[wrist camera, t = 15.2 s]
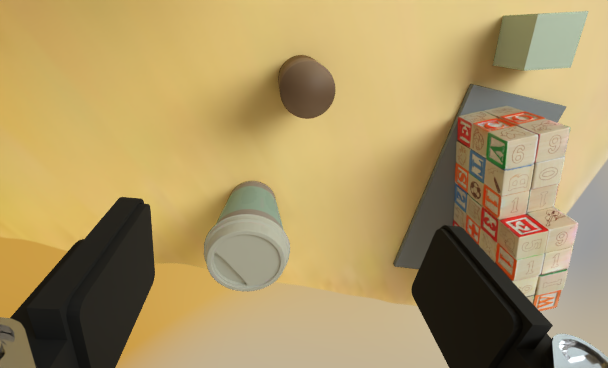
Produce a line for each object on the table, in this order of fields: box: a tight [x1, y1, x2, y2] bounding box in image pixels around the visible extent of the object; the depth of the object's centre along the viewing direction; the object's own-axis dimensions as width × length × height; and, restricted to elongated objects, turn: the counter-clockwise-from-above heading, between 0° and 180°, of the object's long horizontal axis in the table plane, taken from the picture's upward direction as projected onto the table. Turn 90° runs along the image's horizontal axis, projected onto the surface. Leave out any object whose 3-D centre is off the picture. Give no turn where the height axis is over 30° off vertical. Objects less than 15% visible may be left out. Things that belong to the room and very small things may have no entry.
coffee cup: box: [204, 181, 290, 291], centre depth 35 cm, size 8×8×12 cm
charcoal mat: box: [394, 84, 566, 269], centre depth 43 cm, size 27×13×1 cm, turn 168°
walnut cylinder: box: [278, 55, 335, 119], centre depth 31 cm, size 5×5×7 cm
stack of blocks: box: [453, 106, 578, 311], centre depth 37 cm, size 21×6×12 cm, turn 11°
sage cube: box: [493, 11, 588, 71], centre depth 33 cm, size 5×5×5 cm
